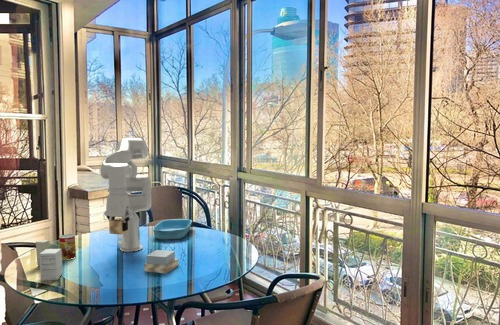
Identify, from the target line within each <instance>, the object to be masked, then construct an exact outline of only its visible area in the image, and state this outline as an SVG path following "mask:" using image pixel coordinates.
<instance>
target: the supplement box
mask: <svg viewBox="0 0 500 325" xmlns="http://www.w3.org/2000/svg"><path fill="white" fill-rule="evenodd" d="M39 256H40V267H39V269H40V271H39V272H40V273H39V274H40V281H41V282H42V281H57V280H59V279H60V278H61V277H62V276H63V275H64V270H63V260H62V250H61V249H59V248H50V249H45V250H44V251H43V252H41V253H40V254H39ZM62 274H63V275H62ZM61 275H62V276H61ZM60 276H61V277H60Z"/></svg>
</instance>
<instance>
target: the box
mask: <svg viewBox="0 0 500 325" xmlns="http://www.w3.org/2000/svg"><path fill="white" fill-rule="evenodd" d="M50 241H51V240H50V239H41V240H37V241H35V251H36V263H37V265H38V266H40V256H39V254H40V253H41V252H43V251H44V250H45V249H51V242H50ZM38 266H37V267H38Z"/></svg>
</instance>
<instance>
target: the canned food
mask: <svg viewBox="0 0 500 325" xmlns="http://www.w3.org/2000/svg"><path fill="white" fill-rule="evenodd" d="M58 240H59V241H58V242H59V243H58V247H59V248H58V249H61V250H62V259H71V258H74V257H76V258H77V253H76V252H77V247H76V234H74V233H73V234H71V233H69V234H67V233H66V234H63V235H60V236H58ZM74 259H75V258H74ZM71 260H72V259H71Z"/></svg>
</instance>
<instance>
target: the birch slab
mask: <svg viewBox="0 0 500 325" xmlns="http://www.w3.org/2000/svg"><path fill="white" fill-rule="evenodd" d="M179 263H180V262H179V258H176V257H175V259H174V260H173V261H171V262H170V263H169V264H167V265H154V264H147V262H145V263H144V264H143V265H144V267H143V268H144V272H148V273H157V274H158V273H159V274H165V275H166V274H168V273H170V272H171V271H173V270H174V269H176V268H177V267H179Z"/></svg>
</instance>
